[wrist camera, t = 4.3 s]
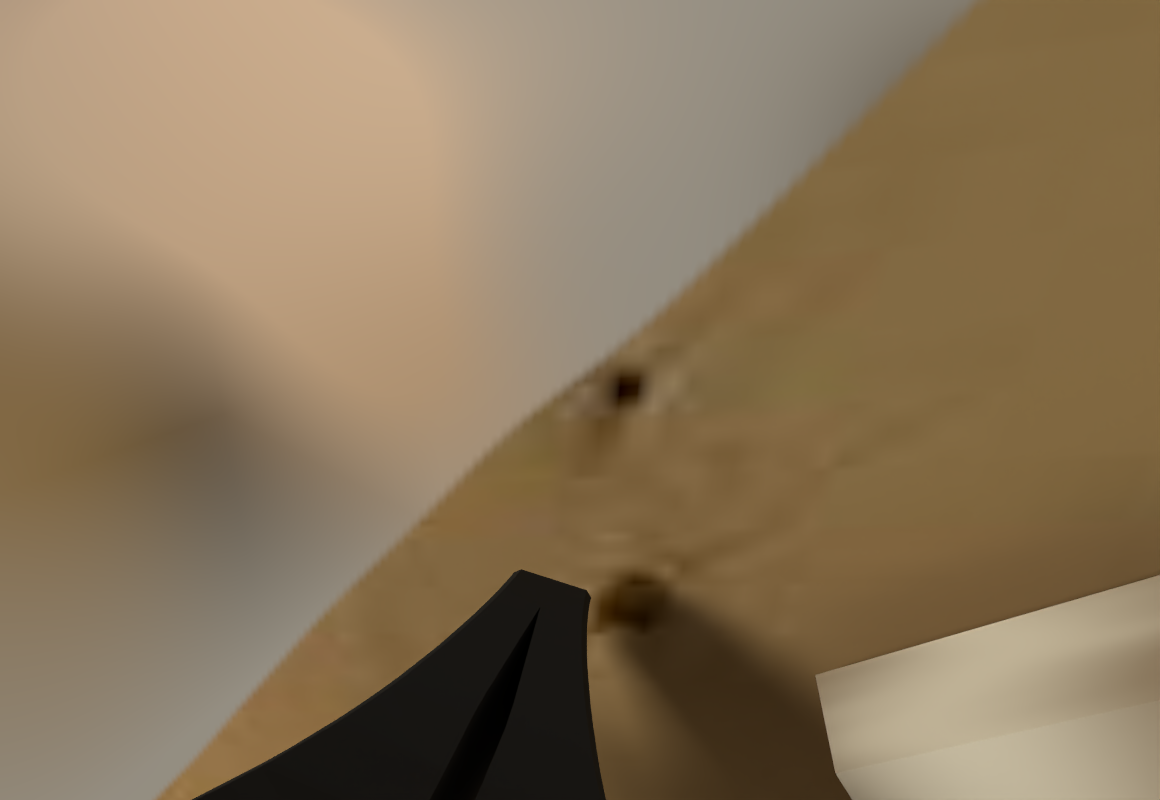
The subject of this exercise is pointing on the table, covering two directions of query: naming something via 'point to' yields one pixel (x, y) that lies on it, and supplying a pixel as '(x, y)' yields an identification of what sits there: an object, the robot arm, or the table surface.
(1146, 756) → the hinged leg
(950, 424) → the table surface
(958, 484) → the table surface
